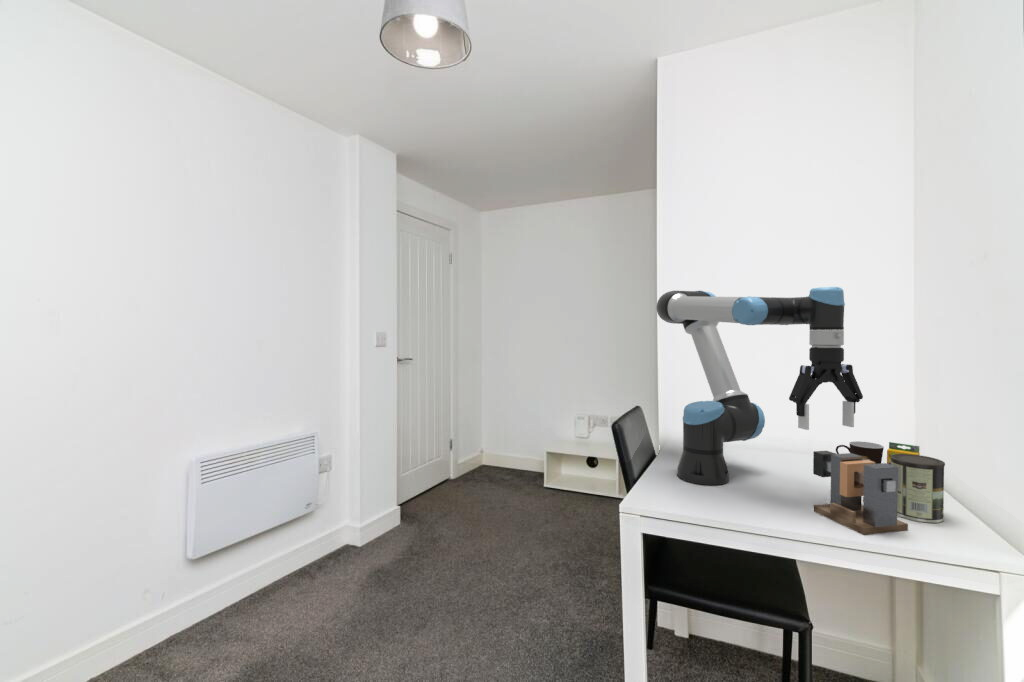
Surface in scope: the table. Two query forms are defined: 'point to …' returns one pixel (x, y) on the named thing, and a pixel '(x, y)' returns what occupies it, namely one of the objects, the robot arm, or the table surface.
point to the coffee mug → (865, 450)
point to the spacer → (851, 477)
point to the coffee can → (920, 487)
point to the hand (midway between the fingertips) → (826, 427)
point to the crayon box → (901, 450)
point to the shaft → (824, 470)
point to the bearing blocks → (868, 491)
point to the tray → (855, 519)
